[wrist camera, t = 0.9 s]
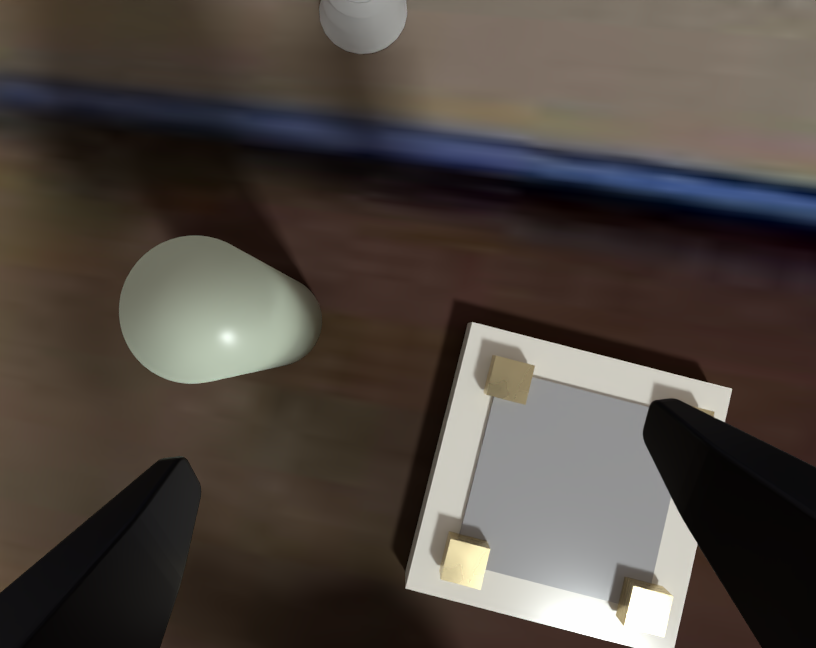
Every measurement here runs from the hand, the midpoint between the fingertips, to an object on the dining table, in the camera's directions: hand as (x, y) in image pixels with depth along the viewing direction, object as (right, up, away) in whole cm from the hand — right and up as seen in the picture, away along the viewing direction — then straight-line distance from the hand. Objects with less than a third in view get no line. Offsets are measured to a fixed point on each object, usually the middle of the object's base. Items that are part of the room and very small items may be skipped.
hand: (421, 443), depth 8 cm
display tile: (+8, -6, +15) cm, 18 cm away
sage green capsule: (-8, +2, +15) cm, 17 cm away
